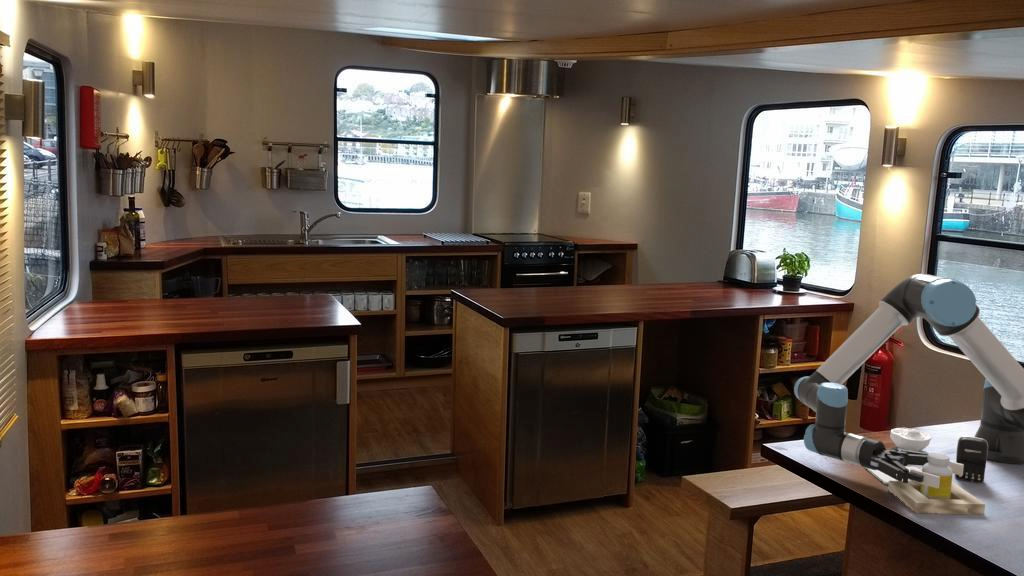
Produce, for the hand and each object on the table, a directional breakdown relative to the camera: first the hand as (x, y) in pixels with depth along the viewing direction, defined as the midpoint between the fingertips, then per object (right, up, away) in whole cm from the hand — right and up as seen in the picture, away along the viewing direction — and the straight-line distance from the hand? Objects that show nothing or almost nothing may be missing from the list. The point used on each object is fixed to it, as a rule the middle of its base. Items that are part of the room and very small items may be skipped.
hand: (951, 476), depth 192 cm
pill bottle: (-2, -7, +3) cm, 8 cm away
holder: (-2, -7, +3) cm, 8 cm away
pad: (-2, -5, +20) cm, 21 cm away
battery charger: (+15, -6, +18) cm, 24 cm away
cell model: (+11, -2, +42) cm, 44 cm away
